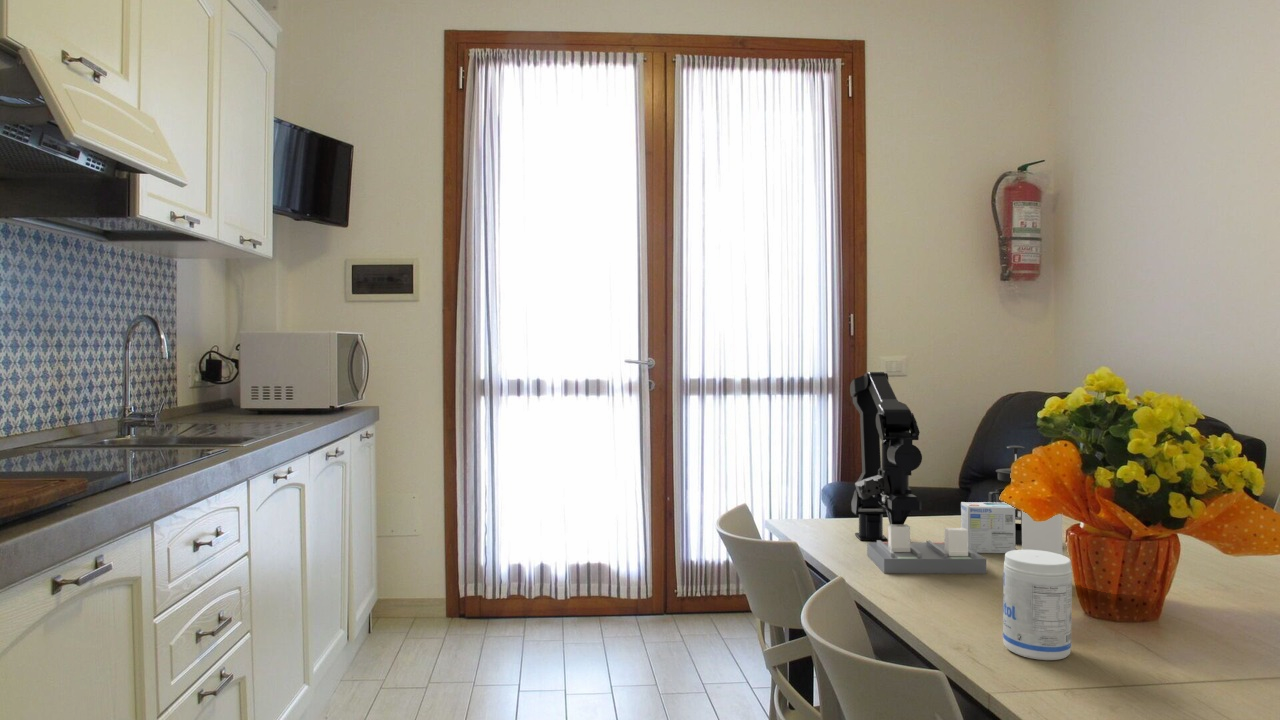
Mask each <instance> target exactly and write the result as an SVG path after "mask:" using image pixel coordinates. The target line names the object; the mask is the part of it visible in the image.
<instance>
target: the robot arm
mask: <svg viewBox="0 0 1280 720" xmlns="http://www.w3.org/2000/svg"><path fill="white" fill-rule="evenodd" d="M849 393H850V394H849V395H850V397H852V404H853V406H854V408H855V409H856V411H857V412H858V414H859V424H860V446H861V447H860V448H861V449H860V451H861V474H860V476H859V478H858V479H857V481H856V482H855V483H854V486H855V489H854V492H853V495H852V499H851V502H850V503H851V504H850V505H851V512H852V513H853V514H854V515H855V516H858V532H855V533H854V535H855V536H856V538H858V539H859V540H860V541H877V540H881V541H888V537H887V536H885V535H884V530H883V529H884V523H883V521H884V519H883V518H884V516H883V515H887V518H888V519H887V520H888V522H889V524H906V523H905V522H906V521H907V519H908V516H909V514H910V513H911V512H912V511H921V510H922V500H921V499H920V498H919V497H918V496H916V495H914V494H913V493H912V489H911V488H910V484H909V483H910V479H909V478H910V476H912V471H914V470H917V469H918V468H919V467H920V466H921V464H922V462H923V455H922V452H921V450H920V448H919V447H917V446H916V445H915V444H913V441H919V439H920V438H919V436H920V429H919V425H918V422H917V419H916V417H915V416H914V413H913V412H912V410H911V409H910V408H909V406H908V405H907V404H906V403H903V402H901V401H899V400H898V398H897V396H896V394H895V392H894V390H893V388H892V386H891V384H890V382H889V376H888V373H887V372H885V371H868V372H865V373H864V375H861V376H858V377H856V378H854V379H853V380H852V381H851V383H850V385H849Z"/></svg>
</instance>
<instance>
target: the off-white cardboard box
mask: <svg viewBox="0 0 1280 720" xmlns="http://www.w3.org/2000/svg"><path fill="white" fill-rule="evenodd" d="M1021 550H1040V551H1048V552H1053V553H1057V554H1061V555H1063V514H1062V515H1060V514H1059V515H1055V516H1053V517H1052V518H1050V519H1048V520H1047V521H1043V522H1036V521H1033V520H1032V518H1031V517H1030V516H1029V515H1028V514H1027V513H1025V512H1023V511H1022V545H1021Z"/></svg>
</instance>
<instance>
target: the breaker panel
mask: <svg viewBox="0 0 1280 720" xmlns="http://www.w3.org/2000/svg"><path fill="white" fill-rule="evenodd" d="M866 546H867V547H866V556H867V557H868V558H869V559H870V560H871V561H872V562H873V563H874V565H876V566H877V568H878V569H880V571H882V573H884V574H947V575H948V574H951V575H952V574H957V575H958V574H959V575H960V574H965V575H966V574H969V575H970V574H979V575H980V574H981V575H982V574H984V575H985V574H987V558H985V557H984V556H982V555H981V554H980V553H976V552H975V551H973V550H972V549H970V548H969V547H968V556H948V553H946V552H945V551H944V548H945V541H932V540H930V539H929V540H928V539H927V540H925V542H918V541H917V542H914V541H913V542H911V541H910V552H893V551H892V550H891V549H889V548H888V541H883V540H876V542H875V541H873V542H866Z"/></svg>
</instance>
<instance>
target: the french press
mask: <svg viewBox="0 0 1280 720" xmlns="http://www.w3.org/2000/svg"><path fill="white" fill-rule="evenodd" d="M1005 447H1006V448H1007V449H1010V450H1013V454H1014V462H1015V461H1016V460H1017V455H1019V450H1024V449H1026V447H1025V446H1021V445H1008V446H1005ZM995 472H996V473H997V480H998V481H1002V482H1007V483H1008V482H1009V483H1012V482H1011V478H1010V473H1011V467H1009V468H998V469H996V470H995ZM1005 488H1006V487H1005ZM1005 488H1004V487H1003V488H997V489H995V491H989V492H988V502H994V495H995V496H996V497H995V498H996V500H995V501H996V502H998V503H1001V499H1000V500H999V496H1000V494H1001V492H1002V491H1003V490H1004V489H1005ZM1016 520H1019V521H1020V523H1018V522H1015V545H1021V546H1022V511H1021V510H1019V509H1016V508H1015V521H1016Z"/></svg>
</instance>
